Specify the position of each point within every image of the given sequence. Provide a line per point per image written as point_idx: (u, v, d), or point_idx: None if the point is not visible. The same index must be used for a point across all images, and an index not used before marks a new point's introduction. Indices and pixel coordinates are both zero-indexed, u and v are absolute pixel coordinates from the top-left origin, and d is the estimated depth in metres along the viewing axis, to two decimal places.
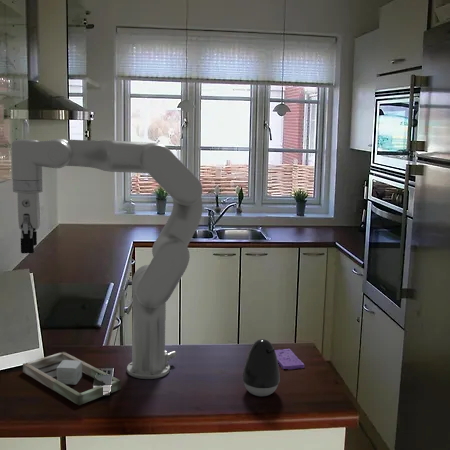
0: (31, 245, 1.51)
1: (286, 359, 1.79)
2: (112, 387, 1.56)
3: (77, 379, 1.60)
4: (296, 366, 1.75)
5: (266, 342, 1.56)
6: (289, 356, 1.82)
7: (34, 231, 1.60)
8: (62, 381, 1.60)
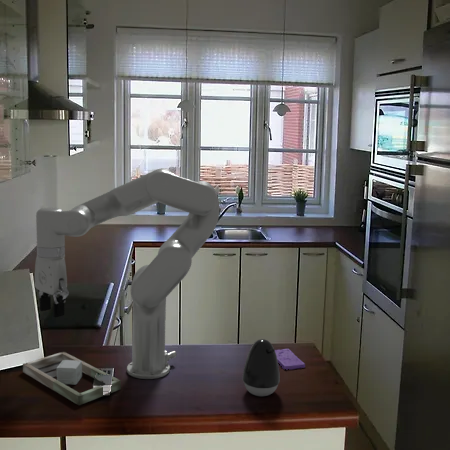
0: None
1: (287, 359, 1.79)
2: (112, 387, 1.56)
3: (77, 379, 1.60)
4: (297, 365, 1.75)
5: (266, 342, 1.56)
6: (289, 356, 1.82)
7: None
8: (62, 381, 1.60)
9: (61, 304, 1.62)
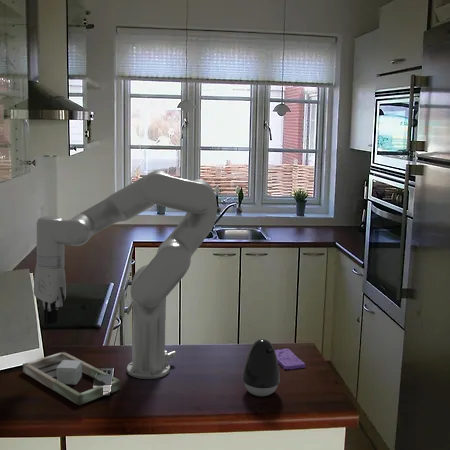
0: None
1: (287, 359, 1.79)
2: (112, 387, 1.56)
3: (77, 379, 1.60)
4: (297, 365, 1.76)
5: (266, 342, 1.56)
6: (289, 356, 1.82)
7: None
8: (62, 381, 1.60)
9: (54, 311, 1.64)
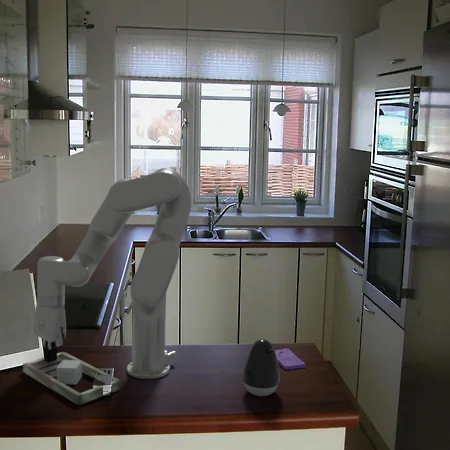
0: None
1: (287, 359, 1.79)
2: (112, 387, 1.56)
3: (77, 379, 1.60)
4: (297, 365, 1.76)
5: (266, 342, 1.56)
6: (289, 356, 1.82)
7: (48, 348, 1.66)
8: (62, 381, 1.60)
9: (54, 350, 1.66)
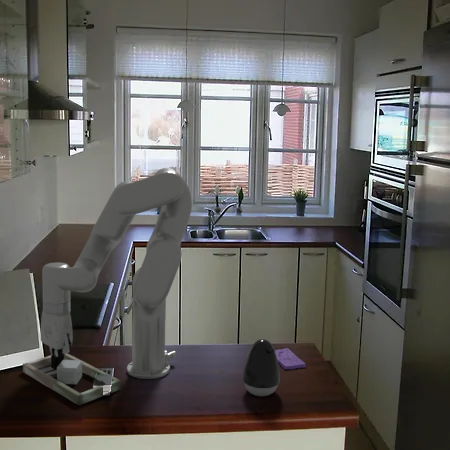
0: None
1: (287, 359, 1.79)
2: (112, 387, 1.56)
3: (77, 379, 1.60)
4: (298, 365, 1.76)
5: (266, 342, 1.56)
6: (289, 356, 1.82)
7: (54, 356, 1.64)
8: (62, 381, 1.59)
9: (61, 357, 1.65)
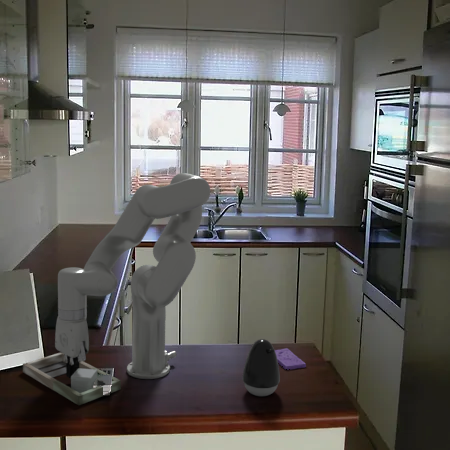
0: None
1: (287, 359, 1.79)
2: (112, 387, 1.56)
3: None
4: (298, 365, 1.76)
5: (266, 342, 1.56)
6: (289, 356, 1.82)
7: (70, 364, 1.59)
8: (76, 390, 1.54)
9: (76, 365, 1.59)
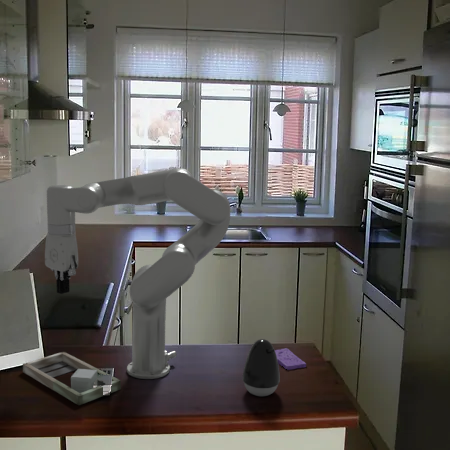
0: None
1: (287, 359, 1.80)
2: (112, 387, 1.56)
3: None
4: (298, 365, 1.76)
5: (266, 342, 1.56)
6: (289, 356, 1.82)
7: None
8: None
9: (66, 281, 1.64)
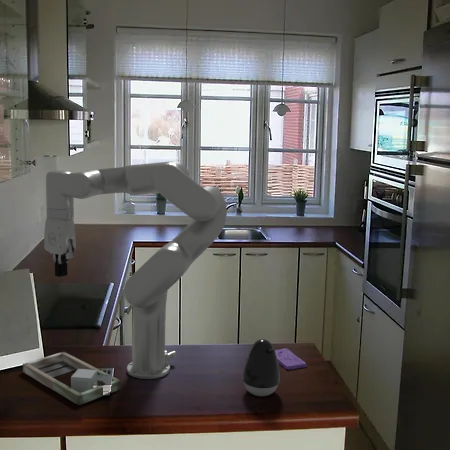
0: None
1: (287, 359, 1.80)
2: (112, 387, 1.56)
3: None
4: (299, 365, 1.76)
5: (266, 342, 1.56)
6: (289, 356, 1.82)
7: None
8: None
9: (64, 264, 1.68)
